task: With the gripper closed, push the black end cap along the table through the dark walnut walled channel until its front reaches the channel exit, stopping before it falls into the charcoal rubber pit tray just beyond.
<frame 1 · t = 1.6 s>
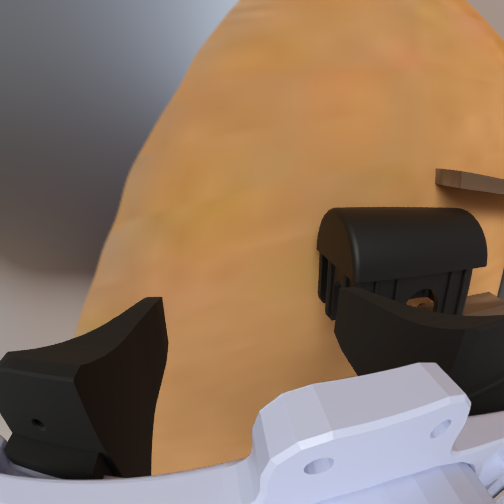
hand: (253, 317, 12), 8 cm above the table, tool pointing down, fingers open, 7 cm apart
channel walls: (468, 245, 22), on the table
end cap: (375, 247, 21), on the table
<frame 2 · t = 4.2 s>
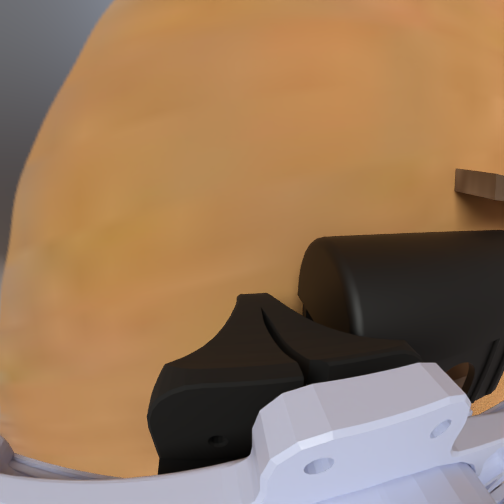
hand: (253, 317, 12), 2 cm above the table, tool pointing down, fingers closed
channel walls: (492, 274, 15), on the table
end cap: (386, 284, 15), on the table, touching gripper
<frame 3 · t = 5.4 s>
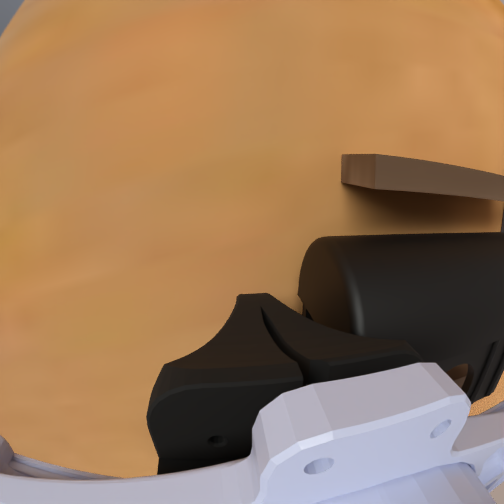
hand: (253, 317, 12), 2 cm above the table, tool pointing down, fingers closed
channel walls: (418, 283, 15), on the table
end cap: (385, 285, 15), on the table, touching gripper
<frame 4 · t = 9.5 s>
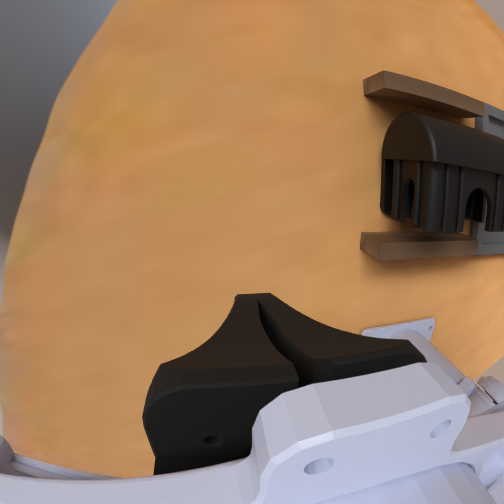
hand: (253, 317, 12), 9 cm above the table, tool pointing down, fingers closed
channel walls: (419, 168, 21), on the table
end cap: (425, 170, 21), on the table
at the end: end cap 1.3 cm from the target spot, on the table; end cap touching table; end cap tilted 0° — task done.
